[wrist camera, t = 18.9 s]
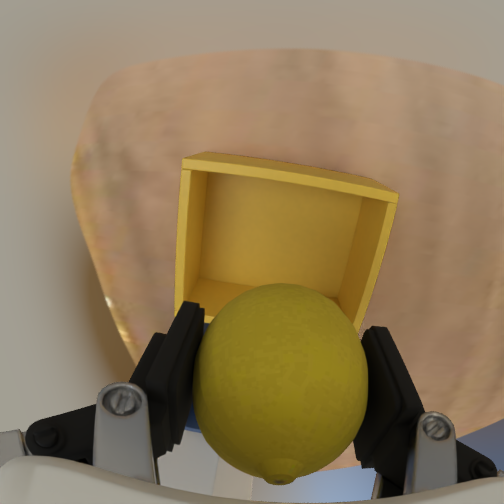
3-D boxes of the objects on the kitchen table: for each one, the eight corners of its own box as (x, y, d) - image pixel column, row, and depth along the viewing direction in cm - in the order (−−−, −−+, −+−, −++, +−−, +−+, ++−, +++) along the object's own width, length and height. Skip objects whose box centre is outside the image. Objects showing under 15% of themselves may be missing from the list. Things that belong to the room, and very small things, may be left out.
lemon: (192, 316, 14) (131, 471, 6) (269, 222, 12) (260, 373, 4) (286, 375, 15) (287, 524, 7) (369, 300, 13) (435, 455, 5)
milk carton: (257, 433, 32) (243, 579, 15) (205, 441, 34) (177, 572, 16) (229, 398, 30) (199, 567, 13) (174, 408, 32) (128, 554, 14)
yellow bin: (204, 151, 21) (181, 158, 16) (371, 178, 21) (399, 193, 16) (193, 279, 25) (174, 317, 20) (341, 301, 25) (354, 342, 20)
